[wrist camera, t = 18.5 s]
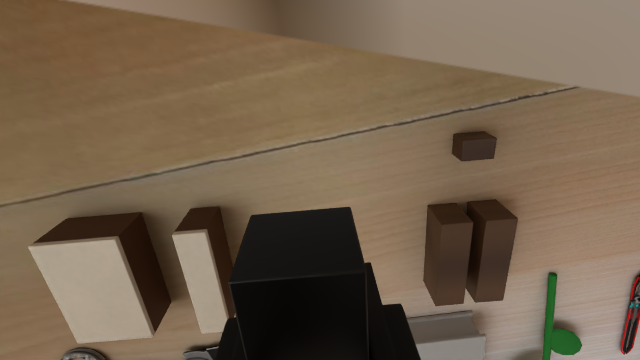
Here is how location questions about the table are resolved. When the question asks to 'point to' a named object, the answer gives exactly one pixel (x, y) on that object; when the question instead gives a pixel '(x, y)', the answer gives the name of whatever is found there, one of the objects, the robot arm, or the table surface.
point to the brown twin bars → (469, 239)
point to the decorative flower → (557, 338)
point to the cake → (104, 276)
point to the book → (447, 337)
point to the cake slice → (206, 266)
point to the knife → (94, 359)
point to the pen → (632, 318)
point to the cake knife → (301, 287)
